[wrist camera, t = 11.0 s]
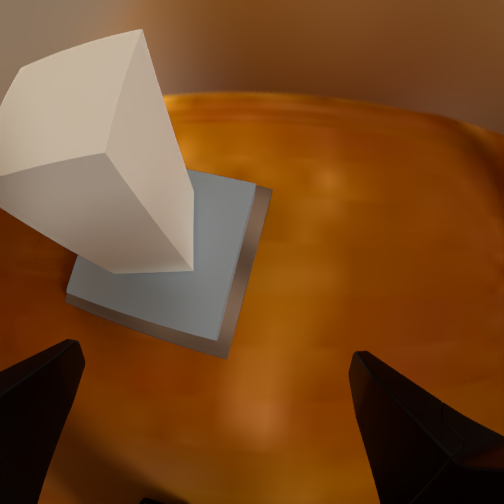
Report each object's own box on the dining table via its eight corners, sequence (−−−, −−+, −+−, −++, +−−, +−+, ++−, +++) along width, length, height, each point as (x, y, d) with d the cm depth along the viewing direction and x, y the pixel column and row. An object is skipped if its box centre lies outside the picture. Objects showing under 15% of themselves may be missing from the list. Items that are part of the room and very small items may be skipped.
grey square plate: (227, 357, 20) (226, 359, 18) (79, 307, 21) (64, 301, 18) (268, 204, 24) (272, 189, 22) (132, 173, 24) (124, 156, 22)
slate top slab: (217, 341, 18) (215, 340, 16) (79, 297, 19) (65, 292, 17) (254, 198, 21) (256, 183, 19) (126, 172, 22) (119, 157, 20)
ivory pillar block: (193, 270, 17) (105, 152, 6) (114, 273, 17) (-31, 186, 6) (194, 191, 19) (142, 28, 7) (120, 198, 19) (20, 67, 7)
